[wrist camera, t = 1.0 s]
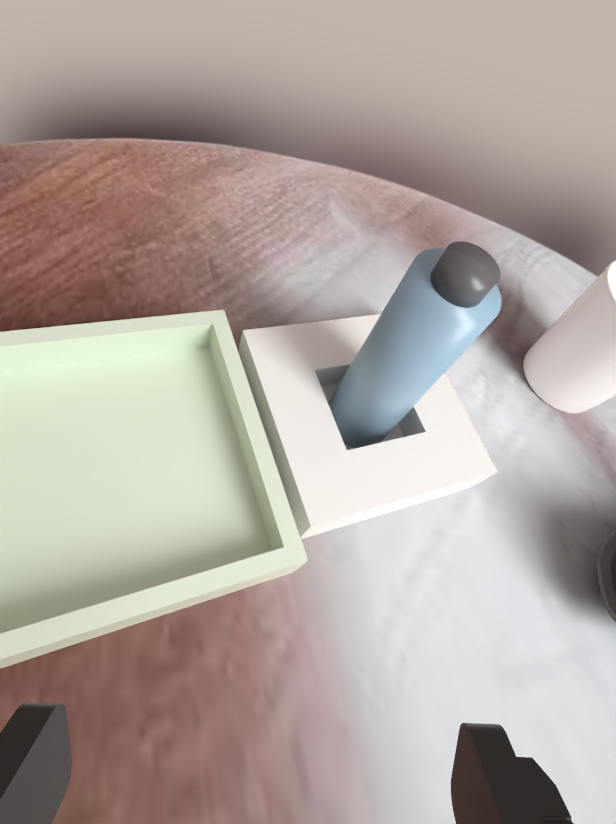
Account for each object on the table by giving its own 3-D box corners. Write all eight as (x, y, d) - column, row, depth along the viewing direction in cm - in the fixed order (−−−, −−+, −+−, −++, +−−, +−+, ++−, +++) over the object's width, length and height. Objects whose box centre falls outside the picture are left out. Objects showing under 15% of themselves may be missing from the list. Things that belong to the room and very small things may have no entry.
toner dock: (236, 356, 41) (242, 330, 38) (396, 334, 47) (412, 310, 44) (297, 540, 35) (311, 526, 32) (472, 487, 41) (497, 471, 38)
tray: (-64, 373, 34) (-88, 340, 30) (218, 338, 41) (224, 309, 38) (-51, 685, 26) (-80, 685, 23) (293, 572, 34) (308, 560, 30)
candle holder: (593, 439, 47) (711, 372, 37) (505, 386, 47) (599, 305, 37) (605, 372, 52) (712, 297, 42) (526, 325, 53) (613, 239, 43)
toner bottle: (315, 395, 40) (407, 227, 25) (372, 385, 42) (488, 224, 28) (339, 455, 38) (454, 310, 23) (397, 441, 40) (537, 299, 25)
